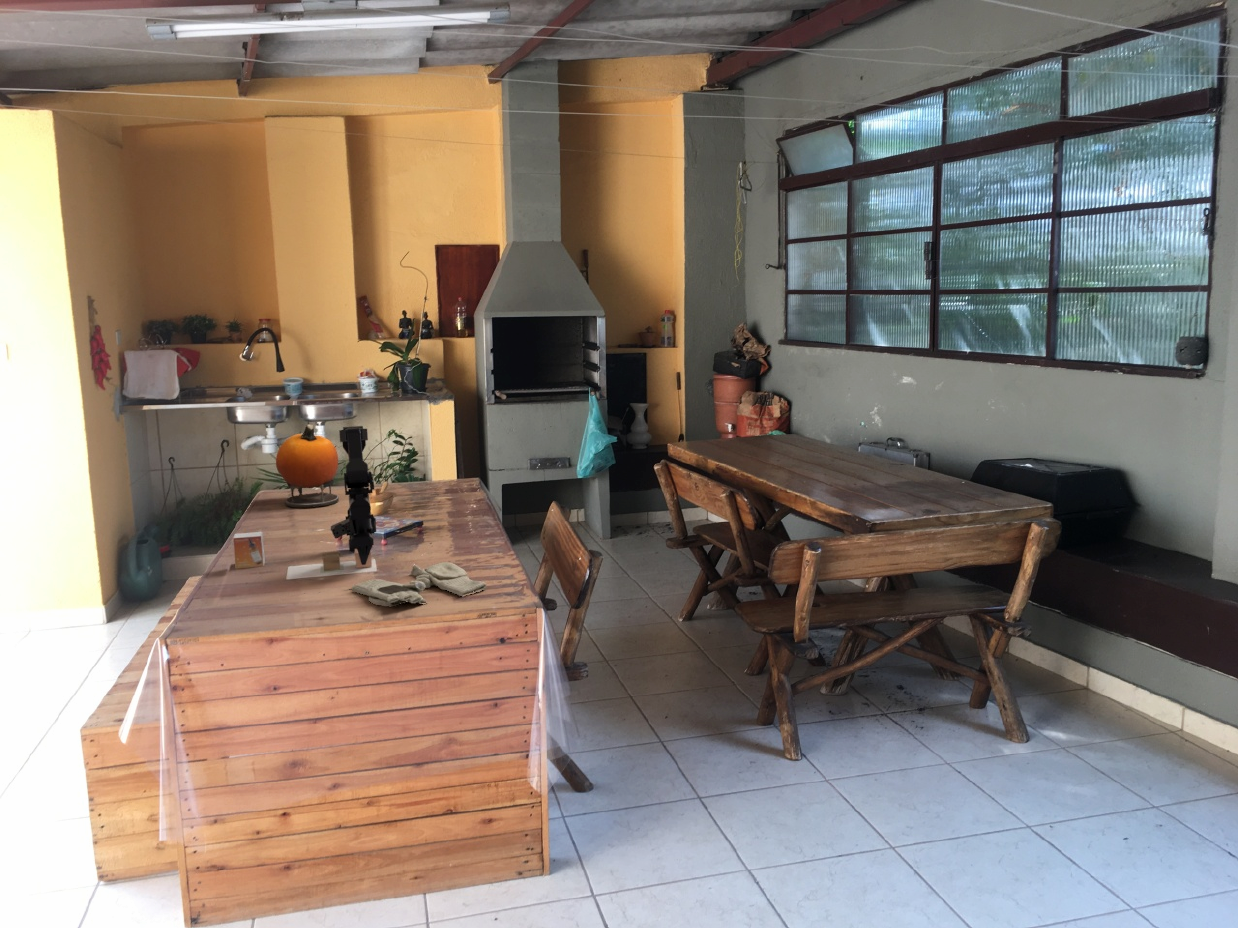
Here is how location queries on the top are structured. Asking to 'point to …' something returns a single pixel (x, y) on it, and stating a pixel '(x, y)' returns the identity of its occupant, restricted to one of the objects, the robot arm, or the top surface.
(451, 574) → the pair of gloves
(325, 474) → the pumpkin
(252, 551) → the small box
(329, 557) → the walnut block
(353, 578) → the top surface
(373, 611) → the top surface
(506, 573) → the top surface
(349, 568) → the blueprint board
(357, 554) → the terracotta block
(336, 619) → the top surface
